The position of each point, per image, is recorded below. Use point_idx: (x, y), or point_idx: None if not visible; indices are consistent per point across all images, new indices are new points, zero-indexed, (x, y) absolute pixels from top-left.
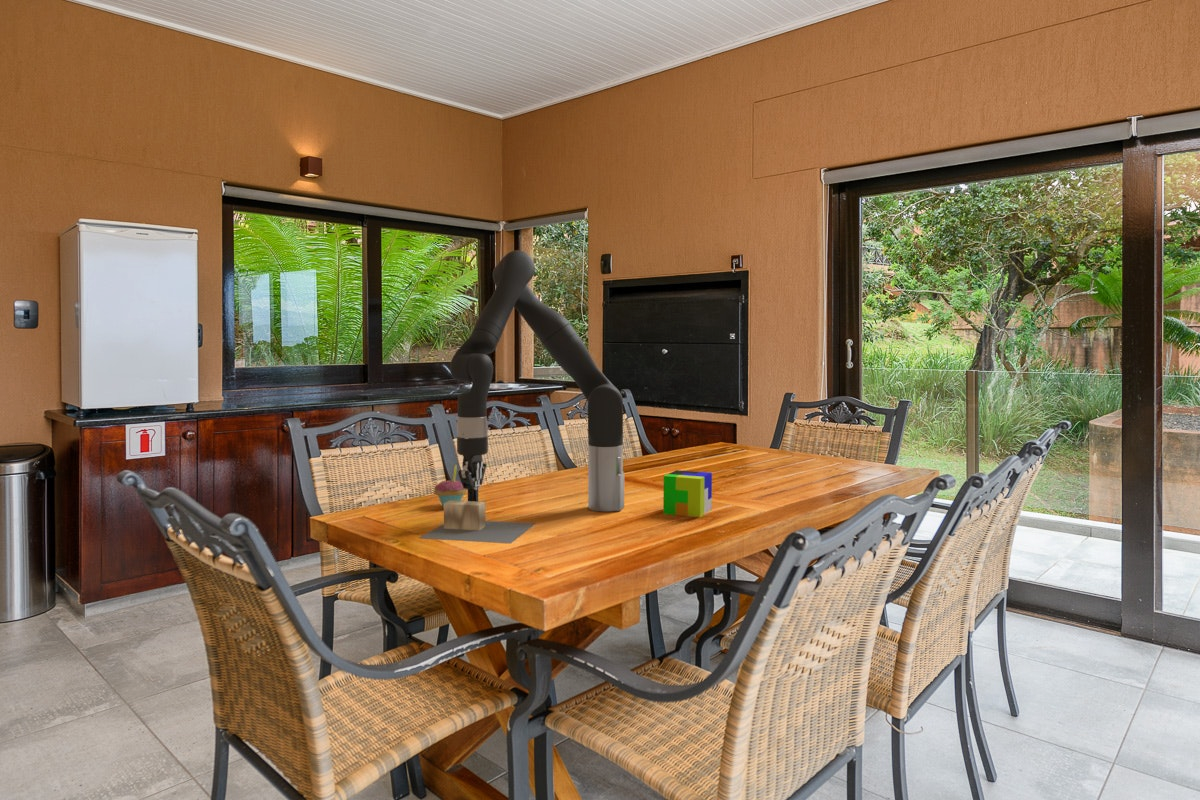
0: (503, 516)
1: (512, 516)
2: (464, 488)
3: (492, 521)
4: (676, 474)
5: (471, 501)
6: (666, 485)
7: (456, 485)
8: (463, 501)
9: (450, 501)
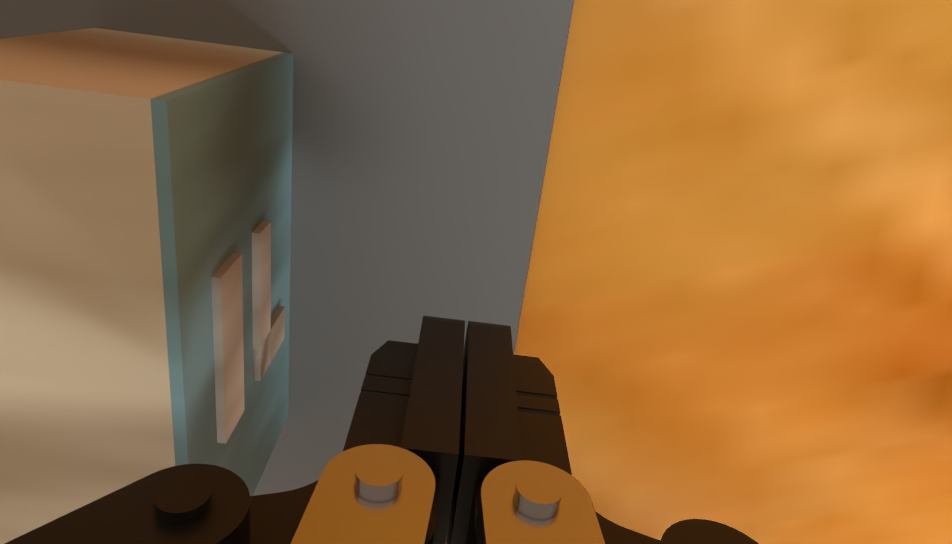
0: (748, 464)
1: (742, 529)
2: (186, 475)
3: None
4: None
5: (171, 462)
6: None
7: None
8: (135, 355)
9: (63, 137)
